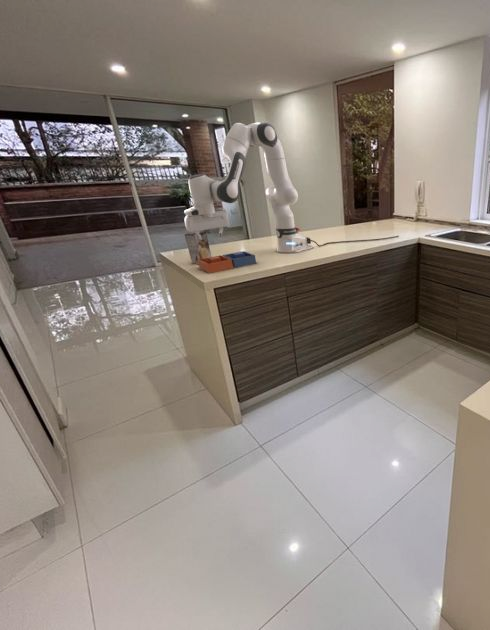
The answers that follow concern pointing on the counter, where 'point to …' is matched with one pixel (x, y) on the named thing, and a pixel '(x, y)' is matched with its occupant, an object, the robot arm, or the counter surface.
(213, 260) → the clay block
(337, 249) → the counter surface
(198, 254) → the coffee box
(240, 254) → the blue block
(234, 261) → the blue bin
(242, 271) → the counter surface
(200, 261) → the clay bin
